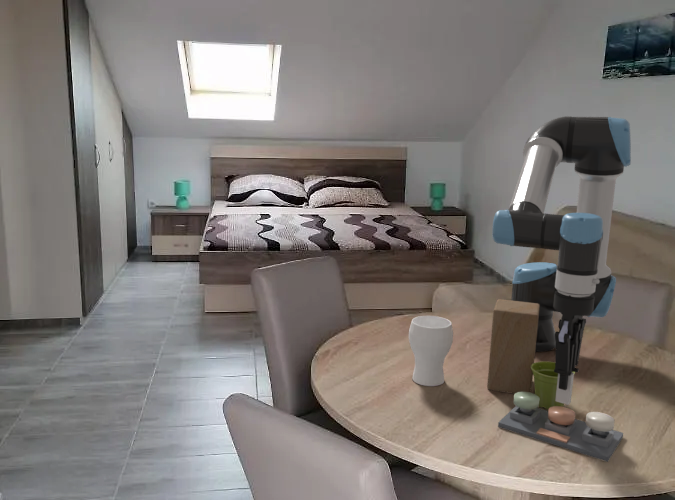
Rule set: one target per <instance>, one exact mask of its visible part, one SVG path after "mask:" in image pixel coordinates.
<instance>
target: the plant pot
mask: <svg viewBox="0 0 675 500" xmlns="http://www.w3.org/2000/svg"><path fill="white" fill-rule="evenodd" d="M554 369H555V361H554V362H553V361H546V360H545V361H536V362H534V363H533V364H532V365H531V370H532V371H533V382H534V394H535V395H537V396H538V397H539V398H540V400H539V407H540V408H543V409H545V410H547V411H549V408H550V407H553V406H561V407H565V404H564V403H560V402H556V401H555V399H556V390H557V380H558V373H555V372H554ZM572 373H574V376H575V374H576V372H573V371H572ZM539 407H538V408H539Z"/></svg>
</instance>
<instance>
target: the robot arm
mask: <svg viewBox="0 0 675 500" xmlns="http://www.w3.org/2000/svg"><path fill="white" fill-rule="evenodd" d="M630 125H631V124H630V122H629V120H627V119H626V118H621V117H620V118H619V117H611V116H568V115H567V116H562V117H561V116H560V117H556V118H553V119H551V120H549V121H547V122H545V123H544V124H542V125H540V126H539V127H538V128H537V129H536V130H535V131H533V132H532V133H531V134H530V136H529V137H528V138H527V140H526V142H525V145H524V148H523V151H522V158H523V160H524V161H523V163H522V167H521V170H520V171H519V172H520V173H519V176H518V178H517V182H516V185H515V187H514V190H513V194H512V197H511V200H510V204H509V207H508V209H499V210H497V211H496V212H495V214H494V216H493V221H492V232H491V233H492V239H493V241H494V242H495V243H496V244H500V245H506V246H510V247H519V248H520V247H521V248H522V247H523V248H531V249H544V250H550V251H558V258H557V264H556V263H552V262H551V263H550V262H542V261H541V262H540V261H539V262H537V261H536V262H528V263H522V264H520V265H517V267H515V269H514V271H513V277H512V278H513V279H512V281H511V283H512V286H511V287H512V288H511V299H510V300H512V301H520V302H529V303H538V304H539V305H540V307H539V318H538V328H537V338H536V349H535V353H541V352H550V351H552V350H554V349H555V351H554V352H555V358H554V359H555V360H554V362H555V369H554V372H555V373H558V380H557V390H556V399H555V401H556V402H560V403H564V405H567V406H568V405H570V404H571V403H572V395H573V394H572V393H573V387H574V386H573V384H574V376H575V375H574V373H572V371H573V372H575V373H579V372H580V371H579V370H580V368H577V366H578V365H579V361H580V354H581V353H580V352H581V348H582V342H583V337H584V330H585V326H586V323H587V319H586V318H584V317H588V318H590V317H591V318H604V317H605V316H606V317H607V314H608V313H609V311H610V307H611V305H612V301H613V297H614V292H615V288H616V282H617V278H616V277H615V276H614V275H612V270H611V268H610V267H609V266H608V265H607V259H608V249H609V242H610V231H611V224H612V214H613V206H614V198H615V189H616V180H617V178H619V177H620V176H622V174H623V173H624V171H625V170H624V168H625V167H626V168H627V167H629V166H630V165H631V163H632V161H631V159H632V157H631V126H630ZM561 163H568V164H574V172H575V174H577V175H578V176H579V184H578V193H577V194H578V195H577V205H576V212H569V213H565V214H555V213H553V214H552V213H545V211H546V210H545V209H546V205H547V202H548V197H549V194H550V191H551V186H552V182H553V180H554V179H553V178H554V174H555V171H556V168H557V167H558V166H559V165H560V164H561ZM554 312H555V313H560V314H561V319H559V320H558V325H557V326H558V331H556V330H555V326H554V321H553V318H554V317H553V316H554Z"/></svg>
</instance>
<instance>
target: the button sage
mask: <svg viewBox="0 0 675 500" xmlns="http://www.w3.org/2000/svg"><path fill="white" fill-rule="evenodd" d="M539 400H540V398H539V397H538V396H537V395H535V393H533V392H531V393H530V392H517V393H515V394H514V395H513V405H514V406H517V407H520V410H521V411H522V412H526V413H529V412H531V410H532V409H536V408H539Z"/></svg>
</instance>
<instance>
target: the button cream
mask: <svg viewBox="0 0 675 500" xmlns="http://www.w3.org/2000/svg"><path fill="white" fill-rule="evenodd" d="M585 422H586V425H587V426H588V427H590V428H591V429H592V431H593V432H594V433H596V434H599V435H603V434H605V432H608V431H612V430H614V428H615V418H614V417H613V416H611V415H609V414H607V413H604V412H599V411H590V412H588V413H586V416H585Z"/></svg>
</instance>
